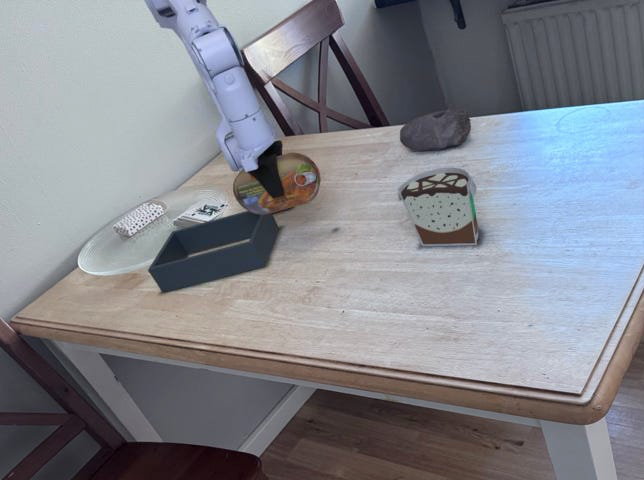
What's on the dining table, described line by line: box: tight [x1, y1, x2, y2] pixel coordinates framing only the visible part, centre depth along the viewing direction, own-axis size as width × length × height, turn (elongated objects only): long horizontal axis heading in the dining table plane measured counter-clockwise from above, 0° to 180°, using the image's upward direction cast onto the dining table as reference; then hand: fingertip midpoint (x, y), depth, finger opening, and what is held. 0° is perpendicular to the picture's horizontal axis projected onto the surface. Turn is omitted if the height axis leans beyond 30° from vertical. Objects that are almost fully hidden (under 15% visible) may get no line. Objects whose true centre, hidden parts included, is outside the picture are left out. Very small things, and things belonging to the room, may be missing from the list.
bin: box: [147, 210, 280, 293], centre depth 116 cm, size 14×20×5 cm
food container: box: [397, 166, 480, 247], centre depth 96 cm, size 12×6×10 cm, turn 65°
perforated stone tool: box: [399, 107, 472, 152], centre depth 125 cm, size 15×5×7 cm, turn 67°
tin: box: [232, 152, 321, 215], centre depth 107 cm, size 15×3×8 cm, turn 88°
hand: (280, 191), depth 108 cm, fingers closed on tin, 2 cm apart
